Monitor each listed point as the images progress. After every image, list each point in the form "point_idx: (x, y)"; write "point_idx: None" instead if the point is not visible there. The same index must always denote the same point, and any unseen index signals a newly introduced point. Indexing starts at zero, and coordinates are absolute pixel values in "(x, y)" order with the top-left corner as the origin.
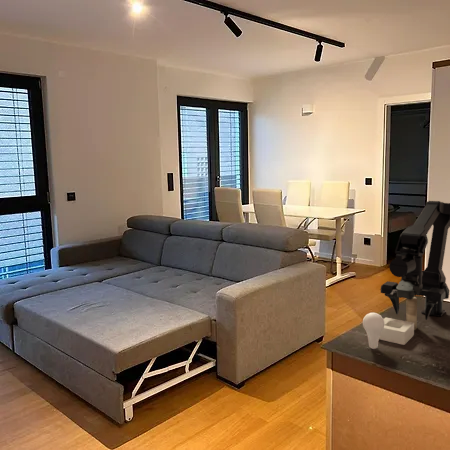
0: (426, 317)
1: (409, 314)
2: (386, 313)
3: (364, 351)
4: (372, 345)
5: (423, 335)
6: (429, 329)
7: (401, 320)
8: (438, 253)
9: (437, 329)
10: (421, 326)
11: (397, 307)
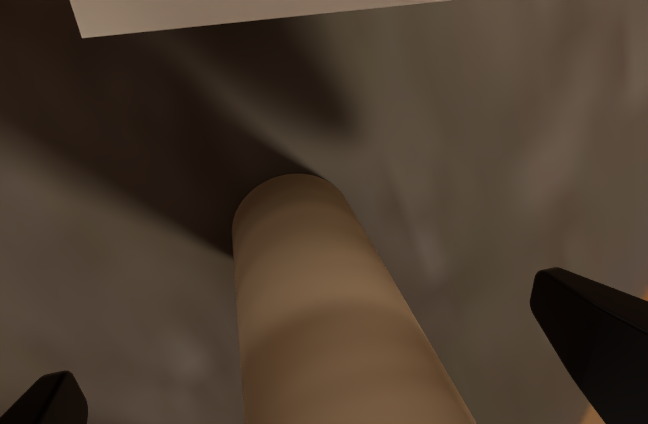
0: (21, 409)
1: (344, 305)
2: None
3: None
4: None
5: (26, 96)
6: (111, 318)
7: (400, 4)
8: None
9: (48, 369)
10: (226, 329)
11: (630, 368)
